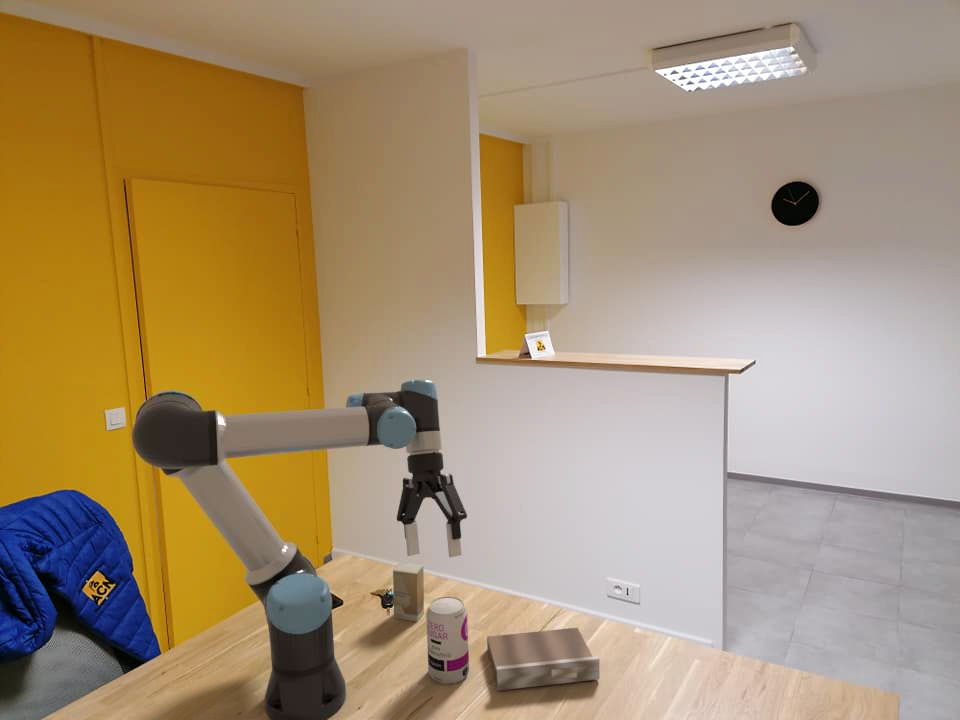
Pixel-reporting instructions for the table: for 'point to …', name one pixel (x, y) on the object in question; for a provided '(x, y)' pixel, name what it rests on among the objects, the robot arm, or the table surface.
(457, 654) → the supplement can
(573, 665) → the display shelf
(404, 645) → the table surface
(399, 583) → the skincare box
